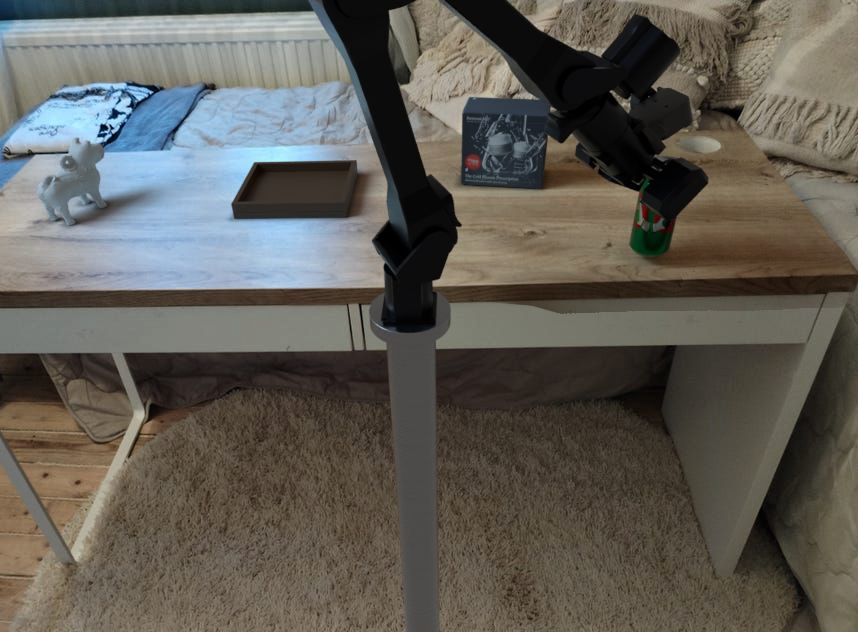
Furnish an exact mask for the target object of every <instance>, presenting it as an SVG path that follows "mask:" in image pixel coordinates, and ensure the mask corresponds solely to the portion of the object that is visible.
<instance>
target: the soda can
mask: <svg viewBox="0 0 858 632" xmlns="http://www.w3.org/2000/svg"><path fill="white" fill-rule="evenodd" d="M654 157H656V158H657V159H659V160H661V161H665V160H667V159H676V158H678V157H676V156H672V155H655V156H654ZM651 167H653V166H651ZM654 169H655V168H654ZM656 170H657V169H656ZM660 170H661V169H660ZM658 171H659V170H658ZM661 171H662V170H661ZM642 177H644V178H645V180H644V181H643V183H642V184H641V185H640V190H639V192H638V195H637V200H636V206H635V212H634V216H633V222H632V226H631V232H630V238H629V242H628V244H629V247H630V249H631V250H632V251H633V252H634V253H636V254H637V255H640V256H643V257H647V258H657V257H660V256H663V255H664V254H666V253H668V252H669V250H670V248H671V244H672V241H673V240H672V239H673V235H674V231H675V228H676V222H677V218H678V215H677V216H676V217H675V219H673V220H669V221H666V220H665V219H663V218H662V217H660V216H659V215H657V214H656V213H655V212H653V211H652V210H650V209H649V208H647V207H646V206H644V205H643V204H641V203H640V200H641V199H642V195H643V190H644V189H645V188H646V187H647V186H648V185H649V184H648V181H649V179H648V178H646V177H645V176H643V175H642Z"/></svg>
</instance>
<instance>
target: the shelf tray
mask: <svg viewBox="0 0 858 632" xmlns="http://www.w3.org/2000/svg"><path fill="white" fill-rule="evenodd" d="M358 175H359V172H358V161H357V159H348V160H347V159H346V160H345V159H344V160H343V159H342V160H298V161H297V160H295V161H293V160H291V161H254V162H253V164H252V166H251V167H250V168H249V171H248V172H247V175H246V176H245V178H244V180H243V182H242V184H241V185H240V187H239V189H238V191H237V193H236V195H235V197H234V198H233V200H232V201H231V203H230V204H231V209H232V214H233V215H232V216H233V218H234V220H235V219H238V220H239V219H301V218H302V219H313V218H314V219H315V218H317V219H318V218H319V219H320V218H321V219H322V218H325V219H326V218H347V216H348V212H349V209H350V204H351V201H352V197H353V193H354V189H355V186H356V182H357V180H358V179H357V178H358Z"/></svg>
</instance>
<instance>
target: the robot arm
mask: <svg viewBox="0 0 858 632" xmlns="http://www.w3.org/2000/svg"><path fill="white" fill-rule="evenodd" d="M307 1H308V3H309V4H310V7H311V8H312V9H313V12H314V13H315V15H316V17H317V19H318V21H319V22H320V24H321V26H322V27H323V29H324V31H325V33H326V34H327V36H328V37H329V38H330V40H331V41H332V43H333V44H334V47H335V48H336V49H337V51H338V53H339V55H340V56H341V58H342V59H343V61H344V63H345V66H346V68H347V69H346V70H347V72H348V75H349V77H350V80H351V84H352V86H353V89H354V92H355V95H356V98H357V100H358V103H359V106H360V109H361V111H362V114H363V118H364V120H365V123H366V126H367V128H368V132H369V134H370V138H371V140H372V143H373V147H374V148H375V151H376V154H377V157H378V161H379V163H380V166H381V168H382V171H383V174H384V177H385V180H386V184H387V189H386V202H385V203H386V209H387V216H388V219H387V221H386V222H385V223H384V224H383V225H382V227H381V228H380V229H379V230H378V231H377V232H376V234H375V235H374V237H373V238H372V240H371V243H372V245H373V247H374V250H375V251H376V253H377V254H378V255H379V256H380V258H381V259H382V260H383V261H384V264H383V268H382V269H383V283H384V284H383V285H384V293H385V295H384V301H383V308H382V315H381V323H382V324H384V325H433V324H435V323H436V310H437V292H438V291H436V290H434V281H438V280H440V279H441V277H442V275H443V272H444V269H445V266H446V264H447V260H448V258H449V255H450V254H451V252H452V251H453V249H454V247H455V246H456V245H457V244H458V241H459V234H458V233H459V232H458V228H461V227H462V226H463V224H462V222H461V221H459V219H458V217H457V215H456V210H455V209H456V208H455V200H454V196H453V194H452V193H451V192H450V191H449V190H448V189H447V188H446V187H445V186H444V185H443V184H442V183H441V181H439V180H438V179H437V178H436V177H435V176H434V175H433V174H432V173H430V174H428V175H427V172H426V169H425V165H424V162H423V160H422V155H421V153H420V150H419V146H418V143H417V140H416V136H415V133H414V130H413V127H412V122H411V120H410V117H409V114H408V113H409V112H408V110H407V107H406V104H405V101H404V98H403V94H402V91H401V87H400V85H399V80H398V77H397V75H396V71H395V68H394V64H393V62H392V58H391V54H390V48H389V46H390V31H391V17H390V16H391V15H390V11H394V10H397V9H401V8H404V7H406V6H408V5H410V4H413V3H415V2H416V1H418V0H307ZM437 1H438V2H439V3H440V4H441V5H443V7H445V8H446V9H447V10H449V11H450V12H451V13H452V14H453V15H455V16H456V18H458V19H459V20H460V21H462V22H463V23H464V24H465V25H466V26H467V27H468V28H470V29H471V30H472V31H473V32H475V33H476V34H477V36H479V37H481V38H482V39H483V40H484V42H486V43H487V44H488V45H490V46H491V47H492V48H493V49H495V50H496V51H497V52H498V53H500V55H501V57H502V58H503V59H504V60H505V62H506V63H507V65H508V68H509V70H510V71H511V73H512V75H513V76H514V77H515V78H516V79H517V81H518V82H519V84H520V85H521V86H522V87H523V89H524V90H525V91H526V92H527V93H528V94H530V95H531V96H532V97H534V98H536V99H537V100H541V101H543V102H545V103H546V104H548V105H549V106H551V108H553V109H554V111H550V112H549V113H548V114H547V117H548V119H547V122H546V124H545V129H544V133H545V134H547V135H548V137H550V138H552V140H554V141H556V142H557V143H559V144H564V143H565V142H566V141H567V139H568V138H569V137H570V136H573V137H574V138H575V139H576V140H577V142H578V143H577V144H576V145H575V151H574V157H576V159H577V160H578V161H579V162H581V164H582V165H584V166H585V167H587V168H588V169H589V170H591V171H594V170H595V169H596V168H597V166H598V169H597V174H598V175H599V176H600V177H602V178H603V179H604V180H606V181H607V182H609V183H612V184H614V185H617V186H620V187H622V188H623V187H624V188H627V189H629V190H632V191H635V192H638V193H639V190H640V185H641V184H642V183H643V181H644V180H645V178H644V177H642V175H643V176H645V177H646V178H648V179H649V181H648V184H649V185H648V186H647V187H646V188H645V189H644V190H643V195H642V199H641V200H640V203H641V204H643V205H644V206H646V207H647V208H649V209H650V210H652V211H653V212H655V213H656V214H657V215H659V216H660V217H662V218H663V219H665V220H666V221H669V220H673V219H675V217H676V216H677V217H678V215H680V213H682V212H683V210H684V209H685V208H686V207H687V206H688V205H689V204H690V203H691V202H692V201H694V199H695V198H696V197H697V196H698V195H699V194H700V193H701V192H702V191H703V190H704V189H705V188H706V187H707V186H708V185H709V182H710V181H709V179H710V178H709V176H708V174H707V173H706V172H705V170H704V169H703V168H702V167H701V166H698V164H695V163H694V162H692V161H690V160H687V159H686V158H684V157H677V158H676V159H667V160H665V161H661V160H659V159H657V158H656V157H655V156H660V155H661V154H662V152H664V150H665V149H667V146H666V144H665V143H664V142H663V141H666V140H668V139H669V138H671V137H672V136H674V135H675V134H677V133H678V132H680V131H682V130H683V129H687V128H689V127H690V126H691V125H692V124H693V123H694V117H693V112H692V106H691V101H690V97H689V96H688V95H687V94H685V93H683V92H680V91H678V90H677V89H673V88H671V87H663V86H660V85H659V86H657V87H656V89H655V88H654V87H653V85H655V84H656V82H657V81H658V80H659V79H660V78H661V77H662V76H663V75H664V73H666V72H667V70H668V69H669V68H670V67H671V65H672V64H673V63H674V62H675V61H676V60H677V59H678V58H679V57H680V55H681V53H682V50H681V48H680V45H679V44H678V43H677V41H676V39H674V38H672V37H670V36H669V35H667V34H666V33H665V31H663V30H662V29H661V28H660V27H658V26H657V25H655V24H654V23H653V22H652V21H651V20H650V18H649V17H648V16H645V15H643V14H639V13H634V14H633V15H632V16H631V17H630V18H629V20H628V21H627V22H626V24H625V25H624V27H623V29H622V30H621V31H620V33H619V34H618V35H617V36H616V37H615V38H614V39H613V41H612V42H611V43H610V44H609V45H608V47H607V48H606V49H605V50H604V51H603V52H602V53H601V55H600V56H599V55H598V54H596V53H593V52H590V51H589V50H583V49H575V48H573V47H572V46H570V45H568V44H567V43H565V42H563V41H561V40H559V39H557V38H555V37H553V36H551V35H550V34H547V33H546V32H544V31H543V30H541V29H539V28H538V27H536V25H534V24H533V23H532V22H531V21H530V20H529V19H528V18H527V17H526V16H525V15H524V14H522V13H521V12H520V11H519V10H518V9H517V7H515V6H514V5H513V4H512V3H511V2H510V1H508V0H437ZM611 91H612V92H613V93H615V94H616V95H617V96H618V97H620V98H622V99H624V100H627V101H628V100H629V99H630V100H629V107H630V109H629V111H628V112H627V110H626V109H625V108H624V107H623V105H622V104H621V103H620V102H619V100H618V99H617V98H616V97H615V96H614V94H612V92H611ZM651 166H653V167H651ZM654 168H655V169H654ZM656 169H657V170H656ZM660 169H661V170H662V171H661V170H660ZM658 170H659V171H658ZM433 290H434V291H433ZM435 291H436V292H435Z"/></svg>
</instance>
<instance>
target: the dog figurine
mask: <svg viewBox="0 0 858 632" xmlns="http://www.w3.org/2000/svg"><path fill="white" fill-rule="evenodd" d="M104 158H105V148H104V147H103V145H102V143H99V142H95V143H91V141H90V140H86V139H85V140H83V141H82V142H81V141H80V138H79V137H73V138H72V140H71V145H70V147H69V149H68V154H64V155H61V156H60V157H59V159H58V160H59V161H58V163H59V166H60V169H61V170H60V171H59V172H57V174H49V175H46V176H45V177H43V178H42V180H41V181H40V182H39V184H38V187H37V189H36V191H37V192H36V193H37V197H38V199H39V200H40V201H41V202H42V205H43V207H44V209H45V211H46V214H47V216H48V218H49V219H50V221H52V222H56V221H57V220H58V219H59V217H58V215H57V214H56V213H55V211H56V212H57V213H58V214H60V215H61V216H62V218H63V220H64V221H65V223H66V225H67V226H73V225H75V224H76V223H77V221H76V220H75V219H74V218H73V217H72V216H71V213H70V209H69V202H70V201H71V199H73V198H77V197H78V198H79V200H80V202H81V204H83V205H87V204H89V203H91V199H93V201H94V202H96V204H97V206H98V208H102V209H103V208H106V207H107V205H108V204H107V202H105V201H104V199H103V197H102V194H101V191H100V183H101V174H100V170H98V169H97V166H96V165H97V164H98V163H99V162H101V161H102V160H103V159H104ZM88 195H89V196H90V197H91V199H90V198H89V197H88Z"/></svg>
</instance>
